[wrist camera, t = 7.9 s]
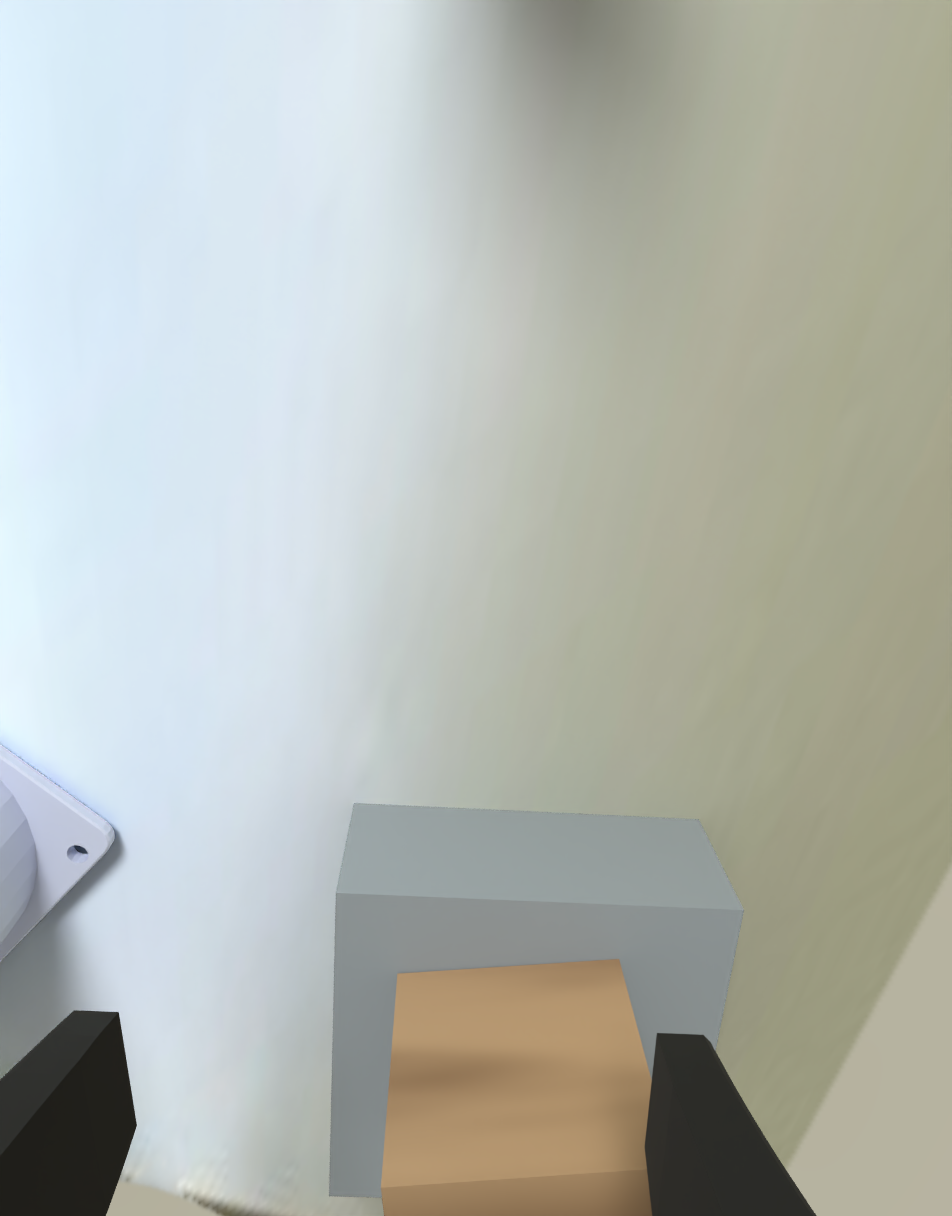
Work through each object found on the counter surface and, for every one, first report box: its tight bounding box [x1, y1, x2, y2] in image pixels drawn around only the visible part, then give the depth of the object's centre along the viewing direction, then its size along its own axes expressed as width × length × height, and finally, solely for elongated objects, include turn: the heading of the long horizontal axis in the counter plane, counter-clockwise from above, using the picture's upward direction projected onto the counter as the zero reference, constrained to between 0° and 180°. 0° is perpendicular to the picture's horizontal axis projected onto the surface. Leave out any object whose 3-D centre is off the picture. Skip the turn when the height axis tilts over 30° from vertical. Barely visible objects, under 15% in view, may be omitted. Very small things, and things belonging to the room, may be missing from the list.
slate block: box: [329, 803, 744, 1197], centre depth 22 cm, size 9×9×4 cm
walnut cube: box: [381, 959, 652, 1216], centre depth 18 cm, size 5×5×5 cm
